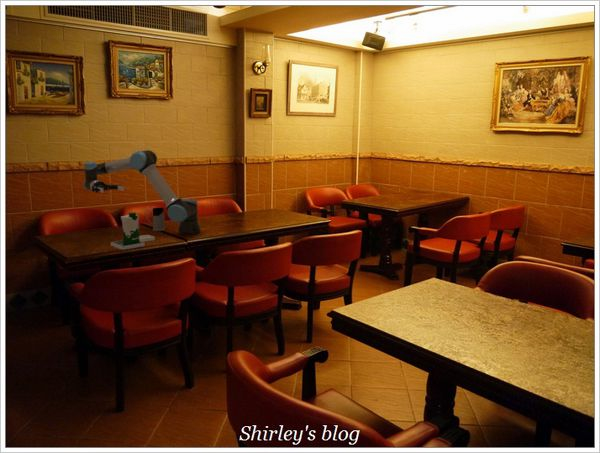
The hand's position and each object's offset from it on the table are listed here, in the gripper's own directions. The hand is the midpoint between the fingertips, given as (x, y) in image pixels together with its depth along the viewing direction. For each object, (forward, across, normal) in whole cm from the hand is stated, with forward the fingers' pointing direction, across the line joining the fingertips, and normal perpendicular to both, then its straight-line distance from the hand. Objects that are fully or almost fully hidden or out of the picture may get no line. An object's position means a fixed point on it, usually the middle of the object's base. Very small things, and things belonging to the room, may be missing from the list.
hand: (113, 189), depth 327 cm
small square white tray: (+16, -11, -32) cm, 38 cm away
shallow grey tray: (+24, +4, -32) cm, 40 cm away
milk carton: (+25, +2, -32) cm, 40 cm away
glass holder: (-9, -34, -32) cm, 48 cm away
